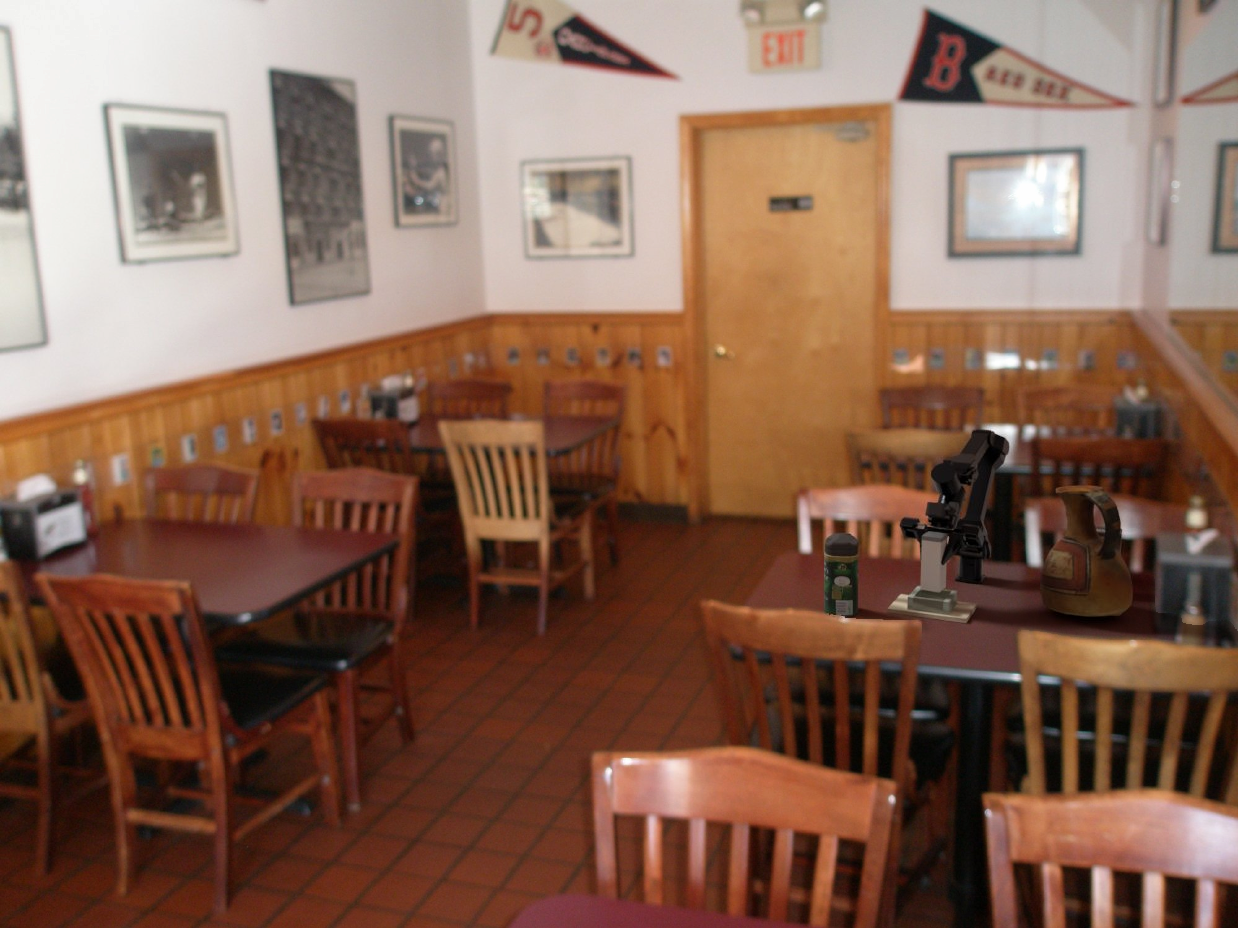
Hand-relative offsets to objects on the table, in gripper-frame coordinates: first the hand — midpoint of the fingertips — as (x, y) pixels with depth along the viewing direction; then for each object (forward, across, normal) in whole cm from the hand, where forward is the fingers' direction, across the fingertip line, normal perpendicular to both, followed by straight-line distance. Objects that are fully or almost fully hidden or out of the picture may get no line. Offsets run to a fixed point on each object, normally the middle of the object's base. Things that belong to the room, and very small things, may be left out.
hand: (931, 562), depth 264 cm
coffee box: (-15, +30, +32) cm, 47 cm away
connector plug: (+4, 0, +6) cm, 7 cm away
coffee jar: (+16, -18, +1) cm, 24 cm away
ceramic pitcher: (-3, +30, +20) cm, 37 cm away
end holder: (+8, 0, +9) cm, 12 cm away
